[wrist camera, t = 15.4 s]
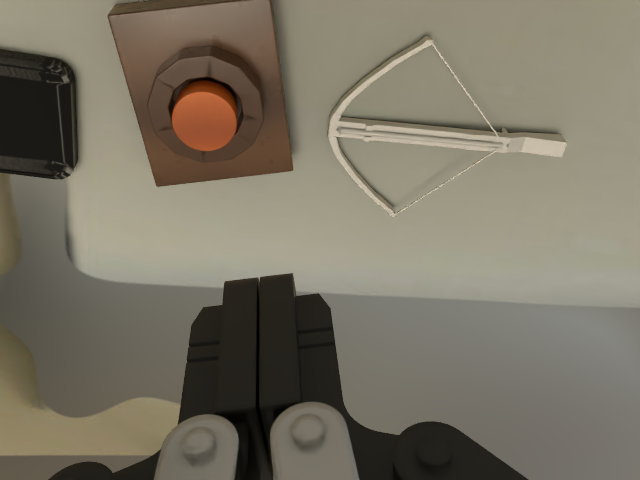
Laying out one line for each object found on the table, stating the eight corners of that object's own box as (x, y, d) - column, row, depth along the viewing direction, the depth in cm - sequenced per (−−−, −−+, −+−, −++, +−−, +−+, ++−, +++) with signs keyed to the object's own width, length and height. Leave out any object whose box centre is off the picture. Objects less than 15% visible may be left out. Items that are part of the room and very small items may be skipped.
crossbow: (318, 198, 45) (318, 213, 43) (340, 23, 37) (341, 33, 36) (529, 216, 46) (537, 232, 44) (590, 50, 39) (603, 61, 37)
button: (168, 83, 34) (164, 95, 33) (232, 76, 34) (230, 88, 33) (182, 141, 36) (179, 154, 35) (242, 134, 37) (241, 147, 35)
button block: (114, 4, 35) (99, 24, 32) (270, -14, 35) (270, 5, 32) (160, 171, 42) (152, 201, 38) (292, 155, 42) (294, 185, 38)
